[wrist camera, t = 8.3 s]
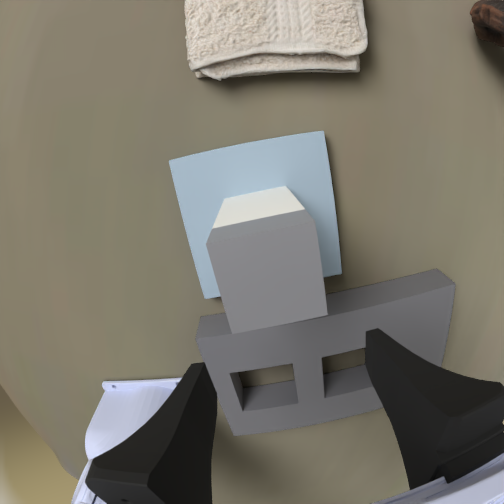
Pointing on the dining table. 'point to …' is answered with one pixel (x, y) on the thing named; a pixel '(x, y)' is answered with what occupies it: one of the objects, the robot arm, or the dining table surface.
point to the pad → (253, 180)
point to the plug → (266, 260)
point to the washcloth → (274, 36)
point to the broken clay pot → (489, 20)
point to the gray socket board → (323, 353)
